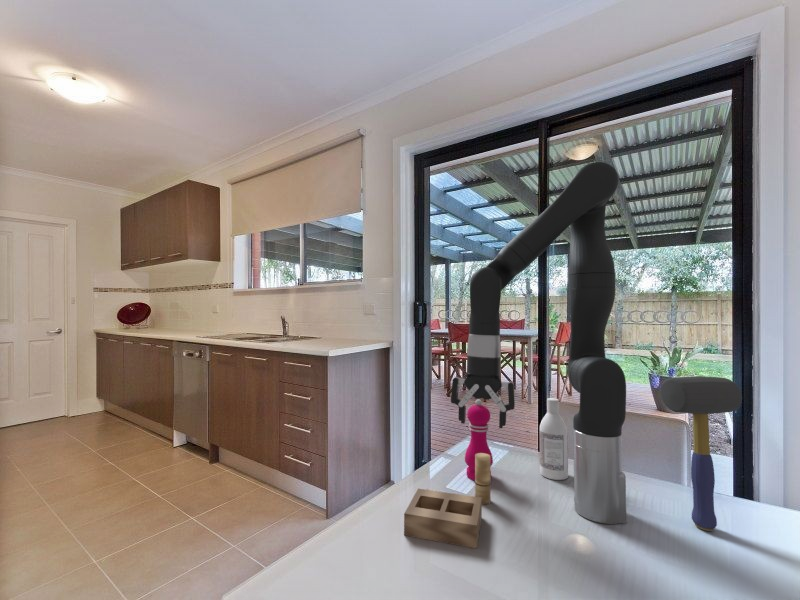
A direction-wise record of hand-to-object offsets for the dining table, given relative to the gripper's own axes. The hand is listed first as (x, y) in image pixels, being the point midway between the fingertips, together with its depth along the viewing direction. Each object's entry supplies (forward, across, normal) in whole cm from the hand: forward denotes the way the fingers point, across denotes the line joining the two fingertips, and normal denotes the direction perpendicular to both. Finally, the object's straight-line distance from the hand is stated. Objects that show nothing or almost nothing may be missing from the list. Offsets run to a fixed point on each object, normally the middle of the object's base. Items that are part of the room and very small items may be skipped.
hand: (481, 425), depth 86 cm
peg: (+17, -1, 0) cm, 17 cm away
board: (+17, +5, +13) cm, 22 cm away
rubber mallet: (+16, -44, -3) cm, 46 cm away
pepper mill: (+17, +2, -13) cm, 21 cm away
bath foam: (+16, -17, -20) cm, 31 cm away
